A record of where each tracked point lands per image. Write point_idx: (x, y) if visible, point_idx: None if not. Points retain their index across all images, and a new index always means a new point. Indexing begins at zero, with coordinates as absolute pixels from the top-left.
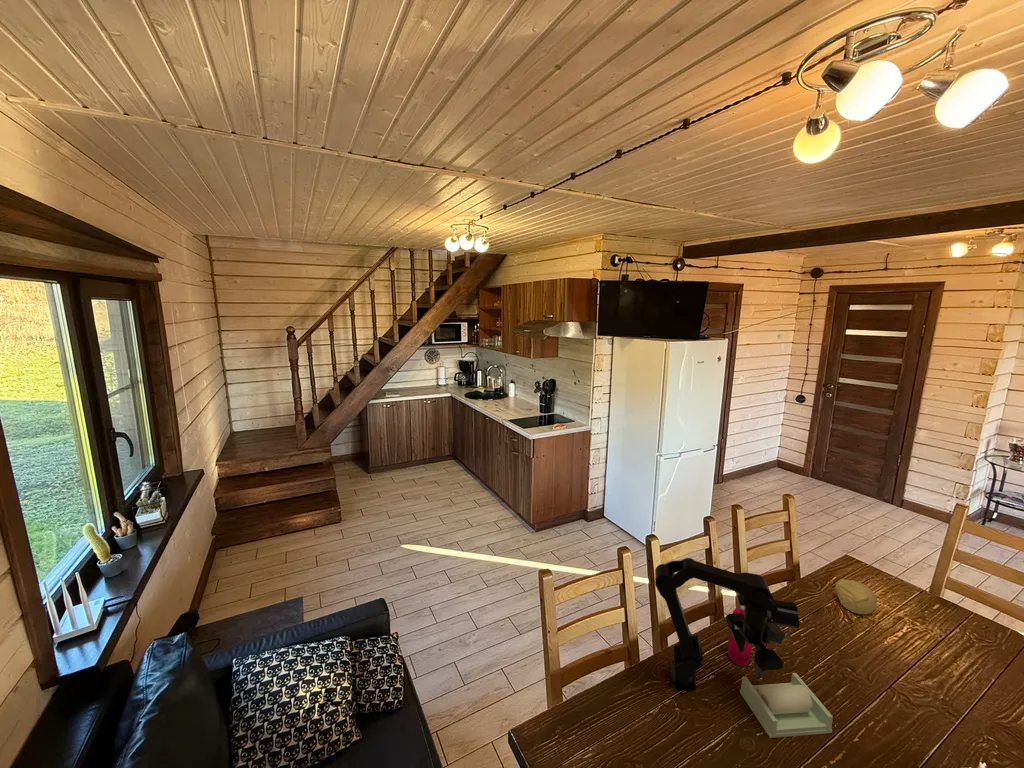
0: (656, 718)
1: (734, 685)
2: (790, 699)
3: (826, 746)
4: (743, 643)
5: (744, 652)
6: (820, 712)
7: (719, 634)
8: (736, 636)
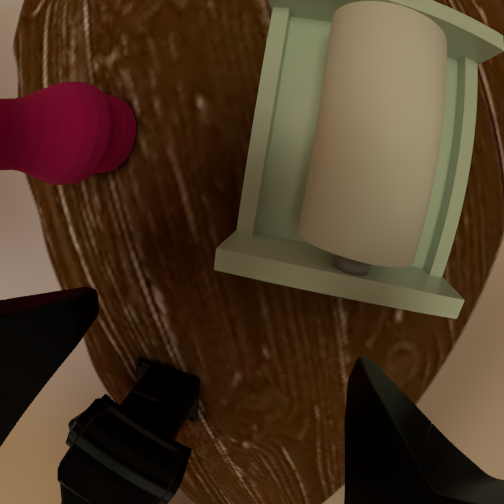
0: (256, 476)
1: (206, 244)
2: (434, 142)
3: (497, 120)
4: (38, 321)
5: (91, 139)
6: (456, 39)
7: None
8: (5, 415)
